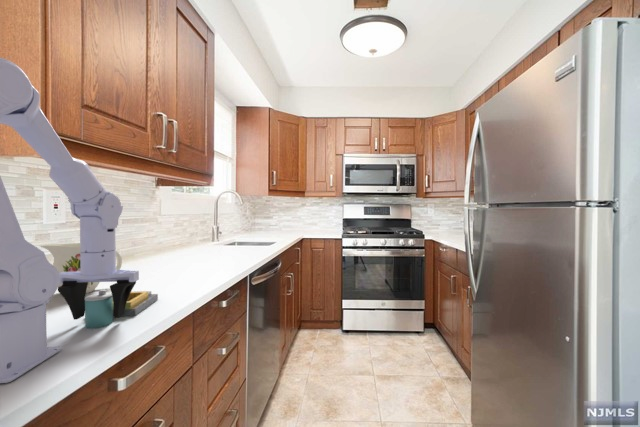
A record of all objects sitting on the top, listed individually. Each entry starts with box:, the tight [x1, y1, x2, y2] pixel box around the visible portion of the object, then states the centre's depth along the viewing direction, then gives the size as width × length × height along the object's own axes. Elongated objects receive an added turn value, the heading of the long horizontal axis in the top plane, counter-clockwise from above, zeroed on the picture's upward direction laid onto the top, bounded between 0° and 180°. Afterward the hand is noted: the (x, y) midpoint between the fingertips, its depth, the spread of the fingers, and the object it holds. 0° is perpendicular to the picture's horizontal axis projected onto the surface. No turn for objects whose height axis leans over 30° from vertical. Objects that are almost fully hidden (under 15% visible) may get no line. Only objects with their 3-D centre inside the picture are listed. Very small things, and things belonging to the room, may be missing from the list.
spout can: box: [84, 289, 114, 330], centre depth 59 cm, size 5×5×7 cm
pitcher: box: [39, 242, 123, 294], centre depth 82 cm, size 11×18×14 cm, turn 136°
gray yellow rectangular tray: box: [113, 290, 159, 317], centre depth 70 cm, size 13×10×3 cm
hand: (99, 317), depth 59 cm, fingers open, 7 cm apart
